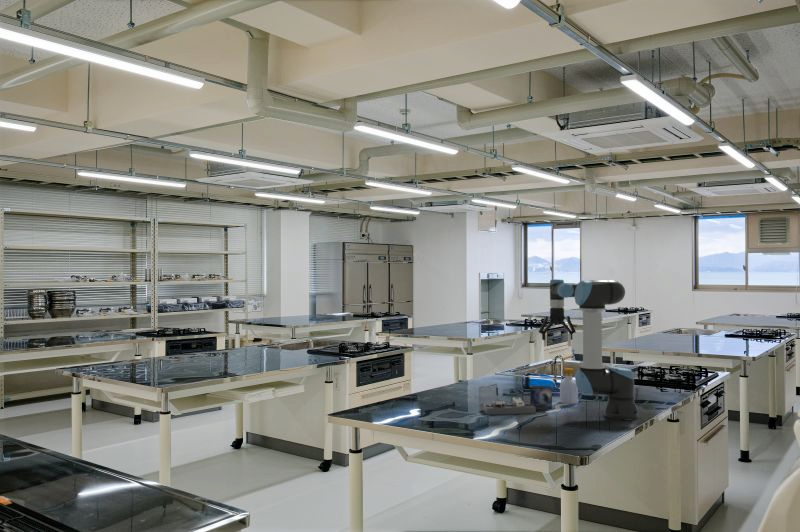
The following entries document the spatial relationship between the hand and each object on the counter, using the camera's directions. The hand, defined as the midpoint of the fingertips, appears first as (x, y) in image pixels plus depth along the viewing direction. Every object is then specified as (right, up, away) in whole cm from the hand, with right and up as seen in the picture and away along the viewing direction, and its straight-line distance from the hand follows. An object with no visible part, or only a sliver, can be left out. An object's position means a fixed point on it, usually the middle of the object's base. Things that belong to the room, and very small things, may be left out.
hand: (557, 346), depth 343 cm
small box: (-15, -28, -27) cm, 42 cm away
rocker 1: (-38, -23, -37) cm, 58 cm away
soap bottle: (+2, -28, -16) cm, 32 cm away
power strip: (-29, -28, -36) cm, 54 cm away
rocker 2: (-28, -23, -36) cm, 51 cm away
